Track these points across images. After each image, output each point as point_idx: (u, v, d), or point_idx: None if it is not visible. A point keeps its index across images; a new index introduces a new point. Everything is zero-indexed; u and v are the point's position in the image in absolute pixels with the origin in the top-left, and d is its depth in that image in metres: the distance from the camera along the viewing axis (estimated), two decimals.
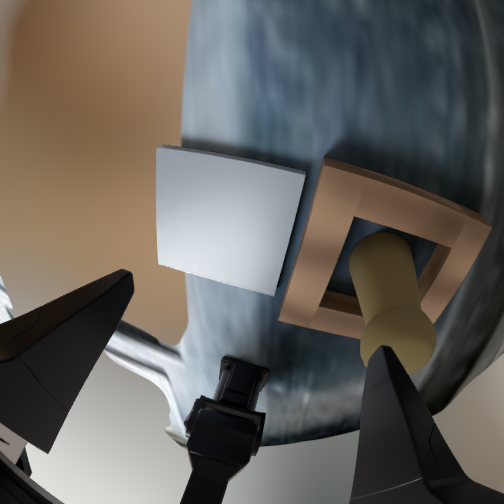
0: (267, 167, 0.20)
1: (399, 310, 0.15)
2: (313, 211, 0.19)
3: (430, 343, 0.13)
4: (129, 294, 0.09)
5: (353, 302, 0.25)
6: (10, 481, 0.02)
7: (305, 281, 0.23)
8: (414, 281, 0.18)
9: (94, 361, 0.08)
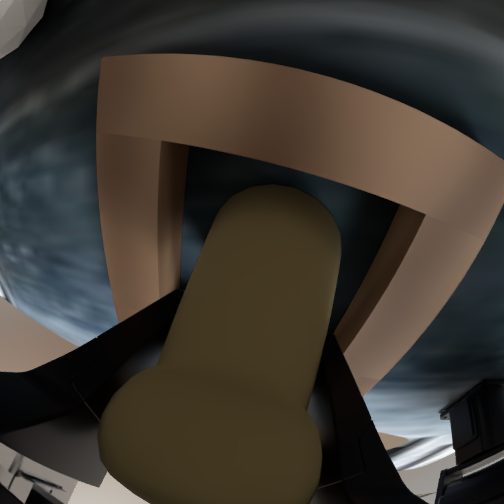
0: None
1: None
2: None
3: (104, 462, 0.04)
4: None
5: (359, 302, 0.12)
6: None
7: None
8: (190, 284, 0.08)
9: None
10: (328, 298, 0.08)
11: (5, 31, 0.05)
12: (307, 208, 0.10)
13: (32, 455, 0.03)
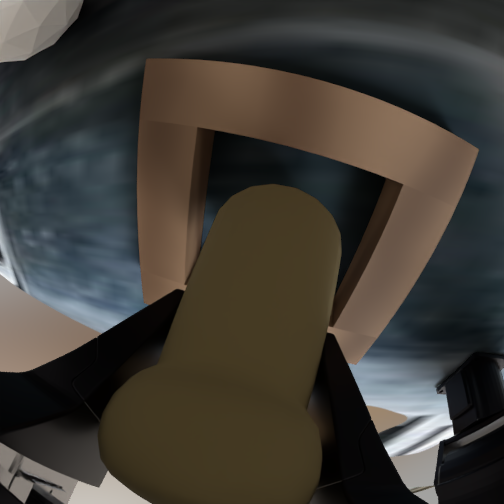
0: None
1: None
2: None
3: (105, 461, 0.04)
4: None
5: (355, 264, 0.15)
6: None
7: None
8: (190, 284, 0.08)
9: None
10: (328, 297, 0.08)
11: (49, 28, 0.08)
12: (307, 208, 0.10)
13: (32, 455, 0.03)
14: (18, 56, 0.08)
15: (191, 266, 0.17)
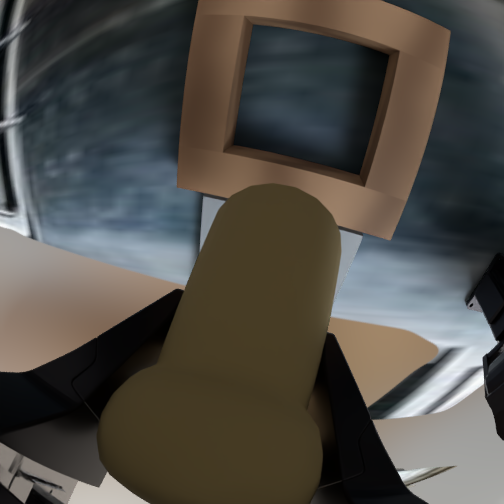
0: (201, 229, 0.22)
1: None
2: (224, 195, 0.18)
3: (104, 462, 0.04)
4: None
5: (375, 130, 0.15)
6: None
7: None
8: (189, 283, 0.08)
9: None
10: (328, 297, 0.08)
11: None
12: (307, 207, 0.10)
13: (32, 455, 0.03)
14: None
15: (228, 140, 0.17)
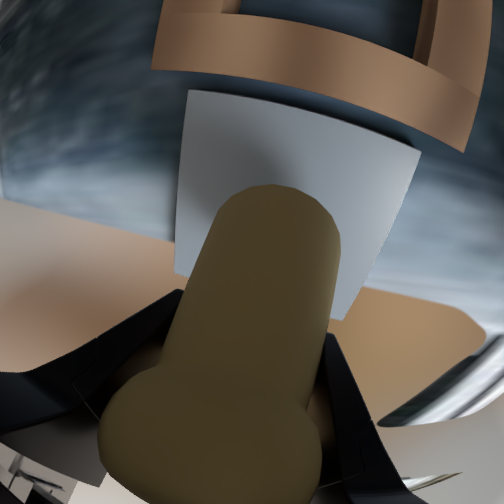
0: (183, 140, 0.14)
1: None
2: (219, 71, 0.10)
3: (104, 463, 0.04)
4: None
5: (425, 13, 0.07)
6: None
7: (367, 83, 0.09)
8: (189, 284, 0.08)
9: None
10: (328, 298, 0.08)
11: None
12: (306, 208, 0.10)
13: (32, 455, 0.03)
14: None
15: (230, 8, 0.09)
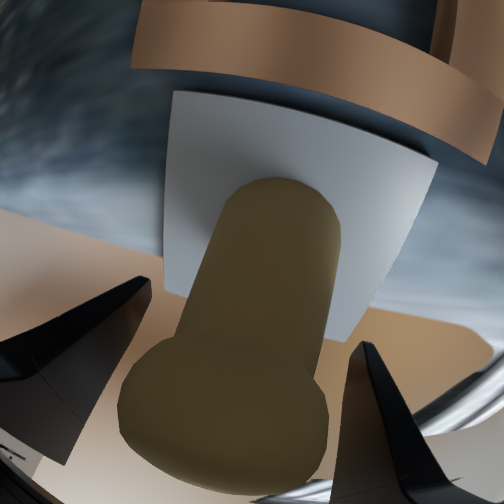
0: (168, 148, 0.12)
1: None
2: (205, 68, 0.08)
3: (125, 428, 0.04)
4: (147, 301, 0.09)
5: (443, 5, 0.06)
6: (10, 481, 0.02)
7: (381, 82, 0.07)
8: (203, 266, 0.09)
9: (112, 370, 0.08)
10: (330, 280, 0.09)
11: None
12: (310, 199, 0.11)
13: None
14: None
15: None
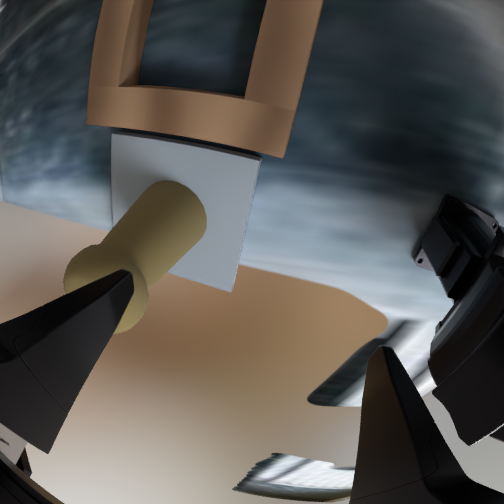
0: (111, 166, 0.20)
1: None
2: (120, 125, 0.17)
3: (64, 278, 0.12)
4: (129, 294, 0.09)
5: None
6: (10, 481, 0.02)
7: (201, 122, 0.16)
8: None
9: (94, 361, 0.08)
10: (174, 233, 0.17)
11: None
12: (177, 191, 0.19)
13: None
14: None
15: (128, 78, 0.15)
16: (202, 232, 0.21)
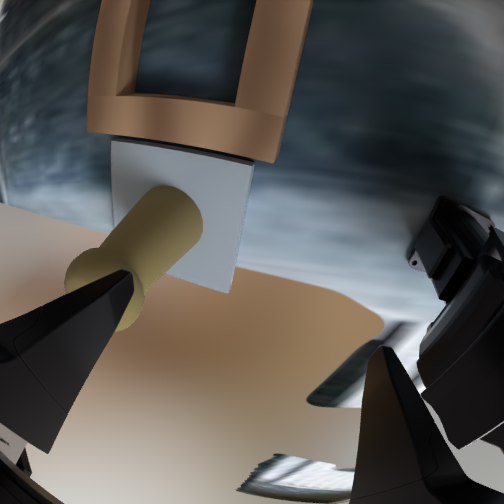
0: (111, 172, 0.21)
1: None
2: (118, 133, 0.17)
3: (65, 280, 0.13)
4: (129, 294, 0.09)
5: None
6: (10, 481, 0.02)
7: (194, 129, 0.16)
8: None
9: (94, 361, 0.08)
10: (170, 236, 0.18)
11: None
12: (174, 196, 0.20)
13: None
14: None
15: (125, 87, 0.16)
16: (198, 235, 0.22)
